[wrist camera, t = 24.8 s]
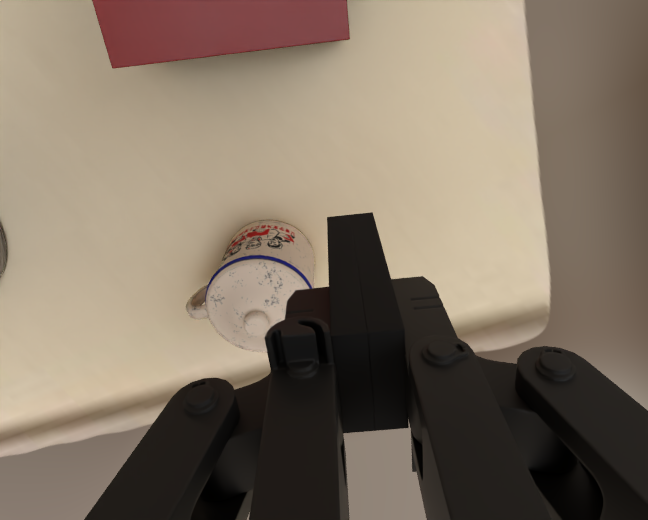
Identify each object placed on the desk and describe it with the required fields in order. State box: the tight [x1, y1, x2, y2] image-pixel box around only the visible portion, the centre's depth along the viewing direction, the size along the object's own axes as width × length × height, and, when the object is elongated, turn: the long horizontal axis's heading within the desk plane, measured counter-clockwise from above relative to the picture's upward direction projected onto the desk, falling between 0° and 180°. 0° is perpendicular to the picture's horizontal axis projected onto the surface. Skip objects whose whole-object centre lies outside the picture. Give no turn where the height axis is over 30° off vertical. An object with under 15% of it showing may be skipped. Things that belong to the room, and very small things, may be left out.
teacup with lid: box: [186, 220, 315, 352], centre depth 40 cm, size 12×9×12 cm
